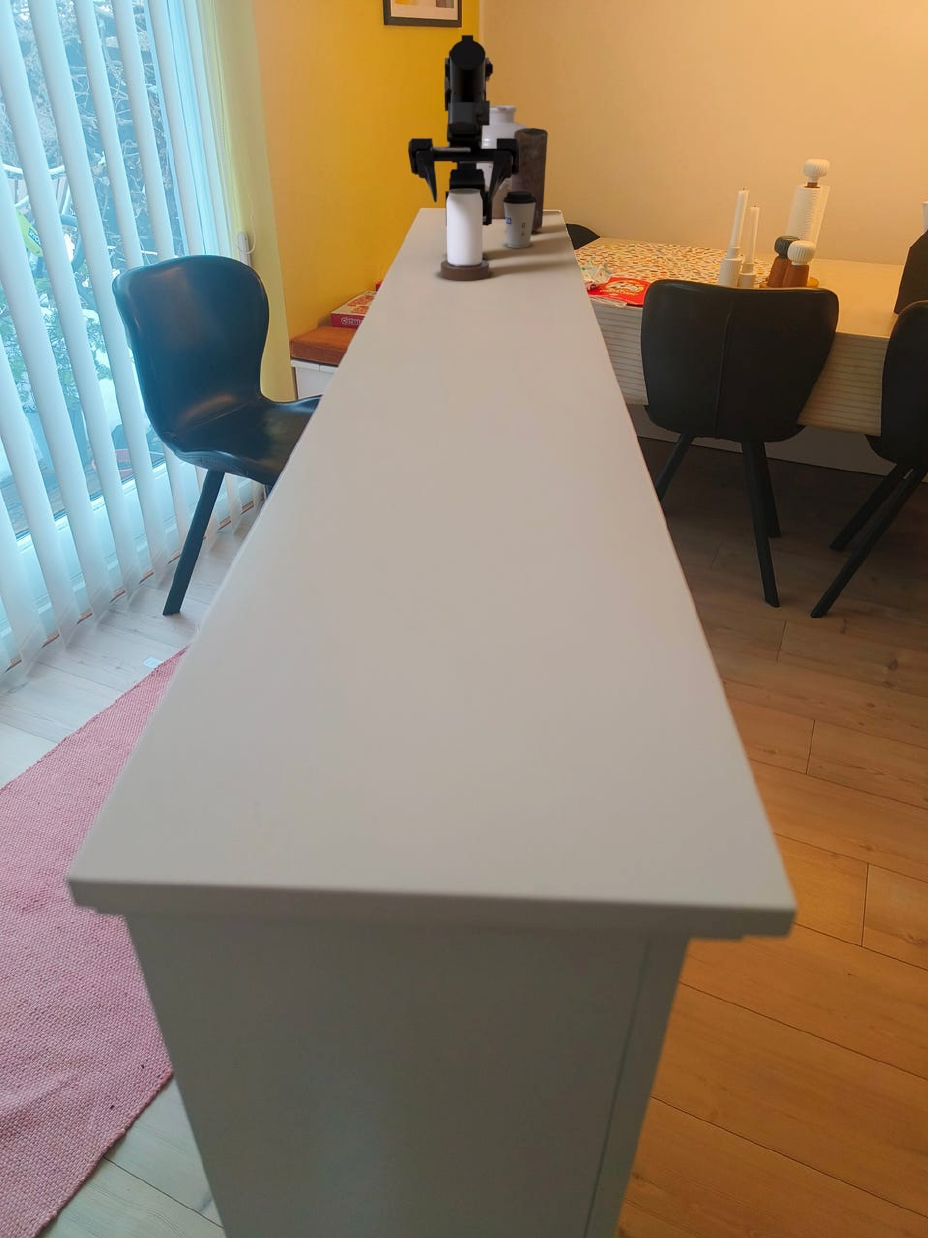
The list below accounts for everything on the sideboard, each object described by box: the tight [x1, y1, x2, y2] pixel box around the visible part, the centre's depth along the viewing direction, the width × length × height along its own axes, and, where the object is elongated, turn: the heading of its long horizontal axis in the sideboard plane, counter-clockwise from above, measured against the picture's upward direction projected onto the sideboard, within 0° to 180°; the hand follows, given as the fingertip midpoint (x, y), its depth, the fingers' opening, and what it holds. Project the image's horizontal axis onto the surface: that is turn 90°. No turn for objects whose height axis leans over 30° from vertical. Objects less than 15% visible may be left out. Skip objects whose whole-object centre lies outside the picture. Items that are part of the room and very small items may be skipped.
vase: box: [477, 105, 528, 219], centre depth 195 cm, size 16×16×23 cm
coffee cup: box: [503, 191, 537, 249], centre depth 170 cm, size 7×7×10 cm
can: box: [445, 188, 484, 267], centre depth 148 cm, size 6×6×12 cm
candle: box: [511, 127, 549, 233], centre depth 179 cm, size 8×7×20 cm
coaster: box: [440, 259, 490, 282], centre depth 152 cm, size 9×9×2 cm
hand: (462, 200), depth 137 cm, fingers open, 9 cm apart
